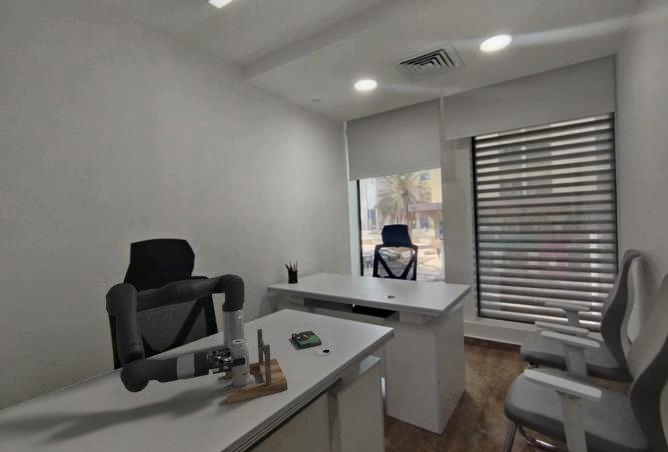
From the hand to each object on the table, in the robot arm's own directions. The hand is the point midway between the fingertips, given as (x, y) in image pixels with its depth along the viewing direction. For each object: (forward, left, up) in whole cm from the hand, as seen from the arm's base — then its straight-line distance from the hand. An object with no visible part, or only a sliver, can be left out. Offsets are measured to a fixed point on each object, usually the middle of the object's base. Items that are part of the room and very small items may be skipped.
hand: (244, 355), depth 108 cm
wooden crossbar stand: (+1, +3, -10) cm, 10 cm away
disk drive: (-19, +36, -11) cm, 42 cm away
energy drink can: (-1, -1, -10) cm, 10 cm away
